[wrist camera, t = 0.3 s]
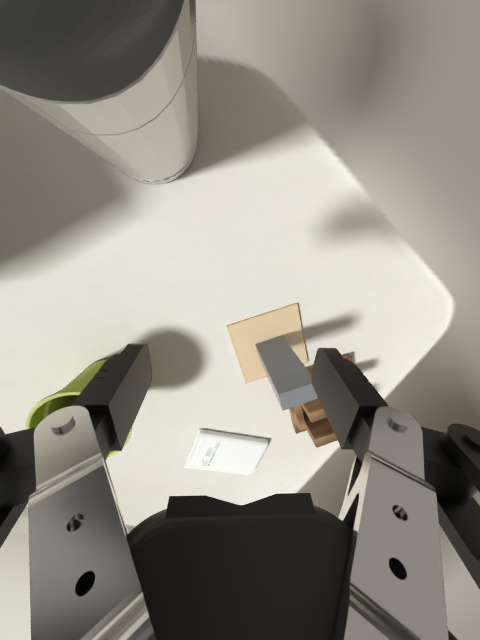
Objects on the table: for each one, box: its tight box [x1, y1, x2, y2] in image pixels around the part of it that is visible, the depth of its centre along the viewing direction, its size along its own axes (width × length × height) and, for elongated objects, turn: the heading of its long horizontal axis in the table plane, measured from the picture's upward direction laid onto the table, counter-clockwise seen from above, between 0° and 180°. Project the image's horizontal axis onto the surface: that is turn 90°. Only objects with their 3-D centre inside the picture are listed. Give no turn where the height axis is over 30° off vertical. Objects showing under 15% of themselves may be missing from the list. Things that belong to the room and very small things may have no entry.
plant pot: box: [26, 359, 132, 457], centre depth 27 cm, size 9×9×9 cm
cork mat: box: [227, 303, 308, 383], centre depth 33 cm, size 10×10×1 cm
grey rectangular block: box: [255, 335, 318, 410], centre depth 28 cm, size 2×4×10 cm, turn 105°
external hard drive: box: [185, 429, 268, 475], centre depth 40 cm, size 2×8×12 cm
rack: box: [289, 354, 352, 448], centre depth 35 cm, size 12×11×6 cm
